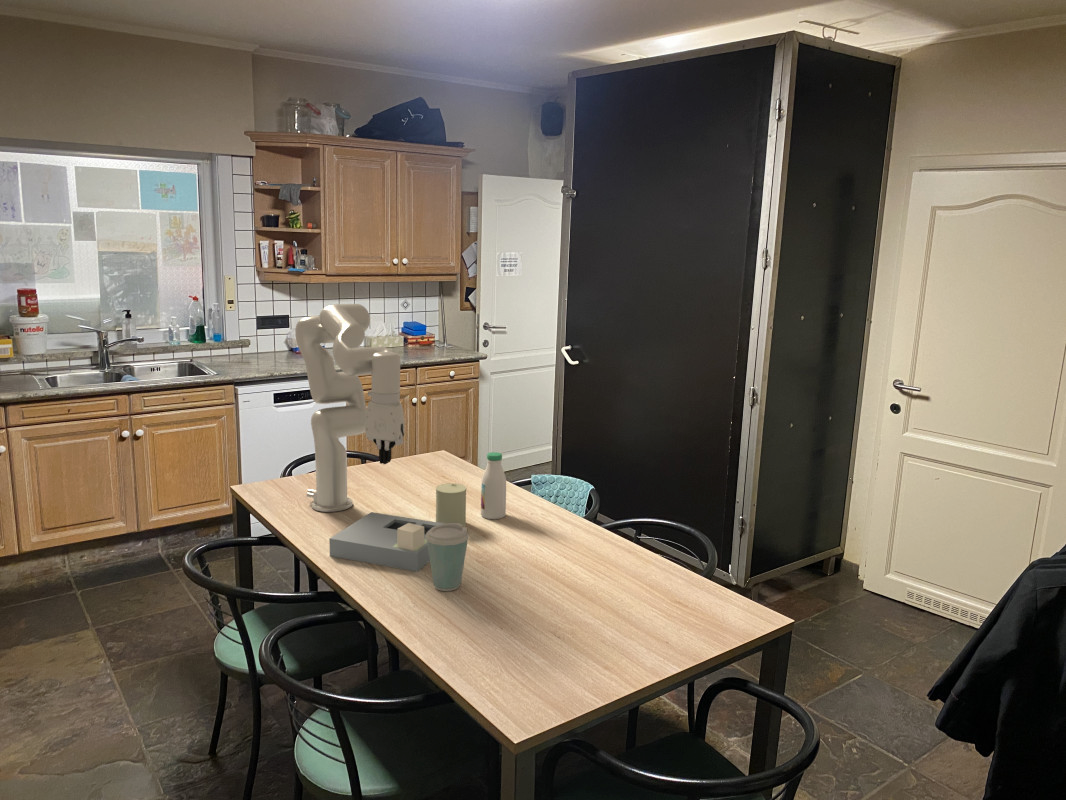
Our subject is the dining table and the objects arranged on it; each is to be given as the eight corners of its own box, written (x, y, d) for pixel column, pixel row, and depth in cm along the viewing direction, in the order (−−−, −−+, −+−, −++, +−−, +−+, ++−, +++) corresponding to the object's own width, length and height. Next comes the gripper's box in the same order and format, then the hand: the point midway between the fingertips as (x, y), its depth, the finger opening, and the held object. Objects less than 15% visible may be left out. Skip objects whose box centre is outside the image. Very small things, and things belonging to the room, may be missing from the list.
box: (329, 556, 208) (329, 538, 207) (371, 528, 229) (371, 512, 227) (417, 571, 200) (417, 553, 199) (452, 541, 221) (452, 524, 220)
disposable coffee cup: (433, 598, 186) (434, 539, 183) (418, 580, 195) (419, 524, 192) (474, 590, 191) (475, 533, 188) (458, 573, 200) (459, 518, 197)
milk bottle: (509, 514, 244) (511, 452, 240) (498, 521, 237) (500, 458, 233) (488, 509, 247) (489, 449, 243) (476, 517, 240) (477, 454, 236)
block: (397, 546, 203) (397, 528, 202) (408, 540, 207) (408, 522, 206) (413, 550, 201) (413, 532, 200) (424, 544, 205) (424, 526, 204)
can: (468, 520, 238) (469, 482, 235) (463, 531, 229) (463, 492, 226) (439, 518, 239) (439, 480, 236) (432, 528, 230) (432, 490, 227)
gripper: (354, 397, 209) (354, 462, 213) (403, 404, 204) (402, 470, 208) (369, 391, 215) (368, 455, 220) (417, 398, 211) (415, 463, 215)
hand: (385, 462), depth 214 cm, fingers closed
